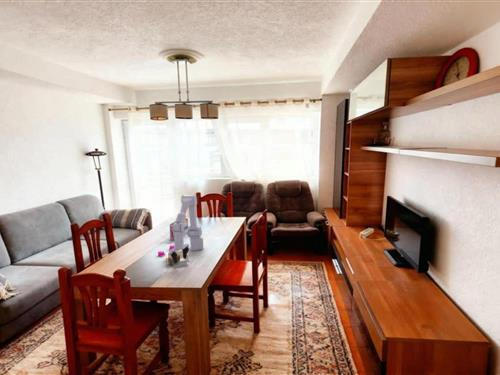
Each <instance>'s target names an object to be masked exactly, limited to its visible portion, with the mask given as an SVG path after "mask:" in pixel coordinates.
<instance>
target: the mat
mask: <svg viewBox="0 0 500 375" xmlns="http://www.w3.org/2000/svg"><path fill="white" fill-rule="evenodd" d="M172 266H173V269H179V268H184V267H188V266H189V265H188V262H187V261H183V262H178V263H175V264H174V265H172Z"/></svg>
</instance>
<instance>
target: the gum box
mask: <svg viewBox="0 0 500 375" xmlns="http://www.w3.org/2000/svg"><path fill="white" fill-rule="evenodd" d="M174 223H175V221H174V222H172V223H170V224H169V239H170V240H174V235H173V231H172V225H173V224H174ZM184 224H185V225H184V231H183V237H184V236H185V235H187V231H188V227H189V218H186V219H185V222H184Z"/></svg>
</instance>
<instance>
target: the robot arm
mask: <svg viewBox="0 0 500 375" xmlns="http://www.w3.org/2000/svg"><path fill="white" fill-rule="evenodd" d="M180 202H181V207H180V211H179V213H177V215H176V219H175V221H174V222H175V223H174V222H173V223H174V224H173V225H172V231H173V235H174V239H173V240H174V242H173V243H174V245H175V247H174V248H173V249H171V250H169V249H168V252H169V253H170V255H171V256H172V258H173V261H174V263H177V254H176V253H175V252H177V251H180V250H182V252H183V259H186V257H187V253H188V254H189V251H191V252H192V251H193V252H194V251H199V250H204V238H203V230H202V227H201V226H200V225H199V224H198V223H197V222H198V221H197V208H196V205H198V197H197V196H196V195H195V194H194V195H193V194H182V195H181V196H180ZM187 211H188V214H189V225H188V231H187V233H186V235H187V237H188V238H189V242H190V244H189V243H186V244H184V236H183V231H184V225H185V224H184V222H185V219H187V215H186V214H187Z"/></svg>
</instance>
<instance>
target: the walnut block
mask: <svg viewBox="0 0 500 375" xmlns="http://www.w3.org/2000/svg"><path fill="white" fill-rule="evenodd" d="M179 261H180V255H177V262H178V263H179ZM174 264H175V263H174V261H173V258H172V256H171V257H169V258H168V264H167V265H172V266H173V265H174Z"/></svg>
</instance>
